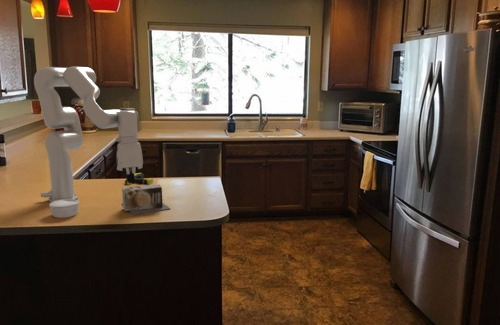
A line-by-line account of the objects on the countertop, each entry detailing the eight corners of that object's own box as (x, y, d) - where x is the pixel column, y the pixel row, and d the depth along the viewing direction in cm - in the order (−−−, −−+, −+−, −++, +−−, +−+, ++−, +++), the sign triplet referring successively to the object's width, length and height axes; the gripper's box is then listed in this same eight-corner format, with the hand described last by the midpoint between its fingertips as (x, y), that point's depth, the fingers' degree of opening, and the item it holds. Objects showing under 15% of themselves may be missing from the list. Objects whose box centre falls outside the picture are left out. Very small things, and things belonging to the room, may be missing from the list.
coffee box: (123, 190, 175) (162, 186, 182) (121, 187, 181) (158, 183, 187) (125, 212, 177) (163, 207, 183) (122, 207, 183) (159, 203, 189)
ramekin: (84, 211, 179) (83, 199, 178) (72, 219, 168) (71, 206, 167) (58, 210, 179) (57, 198, 178) (44, 218, 169) (43, 206, 168)
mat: (133, 215, 174) (133, 214, 174) (121, 204, 189) (121, 203, 189) (170, 209, 182) (170, 208, 182) (156, 199, 197) (156, 198, 197)
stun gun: (157, 172, 243) (130, 172, 242) (151, 180, 224) (122, 180, 224) (157, 177, 244) (131, 177, 243) (151, 185, 225) (122, 185, 224)
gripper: (112, 142, 170) (115, 186, 173) (148, 140, 177) (150, 182, 181) (108, 140, 176) (110, 183, 179) (143, 138, 184) (145, 179, 187)
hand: (130, 182), depth 180 cm, fingers closed
